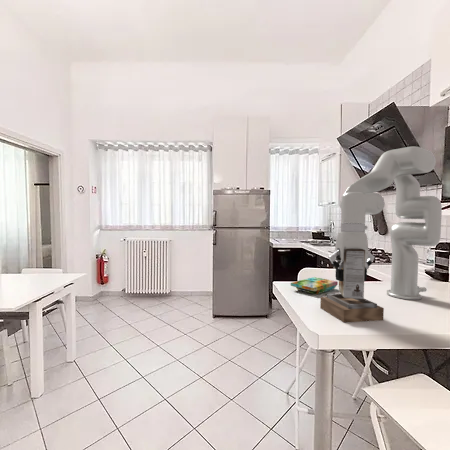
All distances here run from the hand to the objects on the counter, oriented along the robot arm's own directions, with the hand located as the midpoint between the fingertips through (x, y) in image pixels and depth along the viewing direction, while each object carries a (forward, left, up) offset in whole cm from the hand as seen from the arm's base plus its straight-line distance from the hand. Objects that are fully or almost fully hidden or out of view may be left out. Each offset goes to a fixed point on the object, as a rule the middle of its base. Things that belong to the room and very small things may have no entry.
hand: (351, 280), depth 94 cm
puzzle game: (-4, -32, -12) cm, 34 cm away
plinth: (0, 0, -12) cm, 12 cm away
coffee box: (0, 0, -5) cm, 5 cm away
